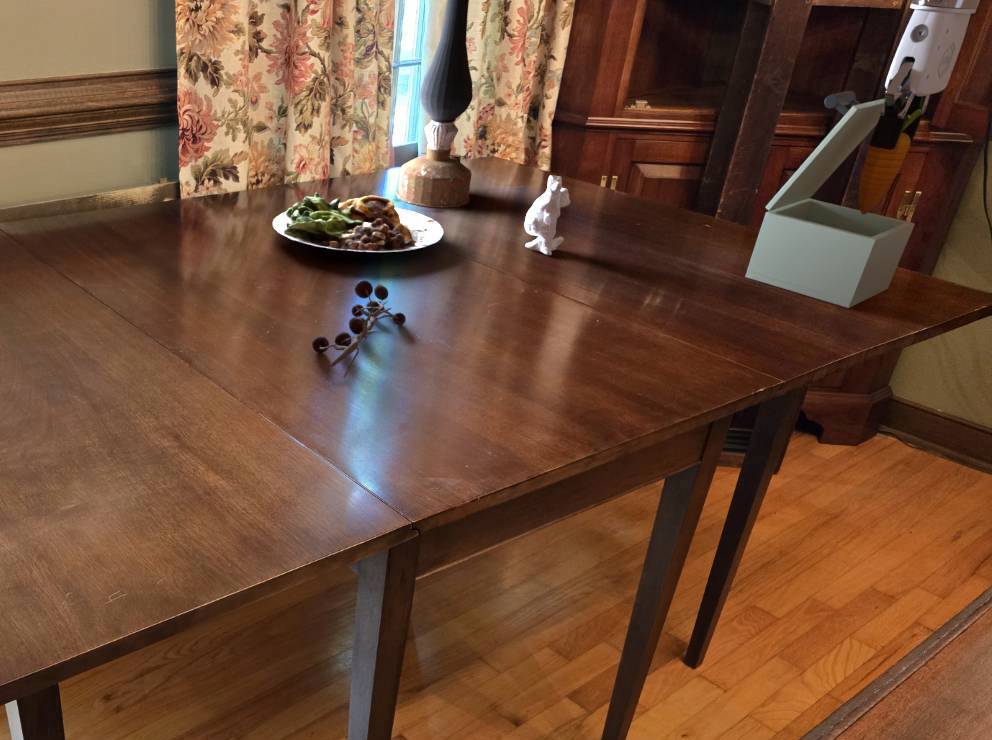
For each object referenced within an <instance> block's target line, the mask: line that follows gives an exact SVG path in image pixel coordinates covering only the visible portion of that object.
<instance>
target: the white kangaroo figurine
mask: <svg viewBox="0 0 992 740" xmlns="http://www.w3.org/2000/svg"><path fill="white" fill-rule="evenodd" d="M562 180H563V179H562V176H557V175H553V174H550V175H549V176H548V179H547V188H546V191H545V192H544V193H543V194H542V195H541V196H539V197H538V198H537V199H536V200H535V201H534V202H533V204H532V206H531V207H530V208H529V209H528V211H527V213H526V216H525V221H524V229H525V232H526V233H527V234H529V235H531V236H535V237H536V236H537V237H536V239H534V240H532V241H529V242H526V243H525V248H527V249H530V250H534V251H538V252H540V253H543V254H544V255H546V256H552V254H553V253H552V251H556V250H557V249H558V247H559V246H560V245H561V244H562V243H563V242H565V238H564V237H563V236H558V237H555V236H556V233H557V229H556V228H557V222H558V218H560V216H561V208H566V207H569V206H570V204H571V199H570V193H569V188H565V187H563V181H562Z"/></svg>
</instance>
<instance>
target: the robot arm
mask: <svg viewBox="0 0 992 740" xmlns="http://www.w3.org/2000/svg"><path fill="white" fill-rule="evenodd" d="M980 1H981V0H911V3H910V6H909V9H913V10H914V11H913V13H912V15H911V16H910V19H909V22H908V24H907V26H906V28H905V31H904V33H903V35H902V37H901V39H900V42H899V45H898V46H897V49H896V52H895V54H894V57H893V59H892V62H891V65H890V68H889V71H888V73H887V76H886V79H885V84H884V87H885V89H886V90H885V93H884V99H885V102H884V103H885V104H884V106H883V108H882V111H881V114H880V118H879V120H878V123H877V124H876V126H875V129H874V132H873V134H872V137H871V140H870V142H869V146H870V145H871V146H873V147H878V148H883V149H888V150H892V149H894V148H895V147H896V145H897V142H898V139H899V137H900V134H901V132H902V133H905V134H907V135H908V136H909V138H910V145H911V144H912V143H913V141H914V139H915V136H916V134H917V131H918V128H919V126H920V123H921V120H922V118H923V116H924V113H925V112H926V109H927V106H928V103H929V100H930V99H931V98H932V95H933V94H937V93H940V92H942V91H943V90H945V89H946V88H947V86H948V84H949V81H950V79H951V75H952V73H953V71H954V68H955V65H956V62H957V59H958V57H959V53H960V51H961V48H962V45H963V43H964V40H965V36H966V33H967V30H968V25H969V22H970V18H971V15H972V14H976V11H977V8H978V7H979V5H980V3H981V2H980ZM902 90H905V91H902ZM918 109H919V110H921V111H922V114H921V115H919V116H918V117H917V118H916V119H915V120H914V121H913V122H912V123H911V124H909V125H908V126H907V127H906V128H905V129H904V130H903V131H902V129H903V126H904V124H905V121H906V119H903V118H905V117H906V116H908V115H911V114H913V113H914V112H915V111H916V110H918Z"/></svg>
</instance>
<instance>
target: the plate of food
mask: <svg viewBox="0 0 992 740" xmlns="http://www.w3.org/2000/svg"><path fill="white" fill-rule="evenodd" d="M340 201H341V198H340V197H338V198H336V199H332V201H330V202H328V201H326V199H325V198H323V197H321V196H320V194H319V193H318V192H315V193H314V196H304V198H303V200H302V202H301V201H299V202H295V203H293V205H292V207H289V208H288V209H287V210H285V211H283V212H281V213H280V214H279V215H277V216H276V217H275V218H273V221H272V227H273V229H274V230H275V231H276V232H277V233H278V234H280V235H282V236H284V237H286V238H287V239H290V240H292V241H294V242H298V243H302V244H306V245H311V246H314V247H317V248H326V249H327V250H329V251H331V250H332V251H351V252H352V251H353V252H363V253H364V252H366V253H393V252H405V251H411V250H419V249H421V248H426V247H427V246H431V245H433V244H436V243H438V242H439V241H440V240H441V239H442V236H443V235H444V229H443V226H441V224H440V223H438V221H436V220H434V219H433V218H432V217H431V218H430V217H428V216H426V215H425V214H421V213H418V212H416V211H412V210H408V209H404V208H399V207H395V203H393V201H391V200H390V199H388V198H386V197H382V196H378V195H372V194H369V195H367V196H362V197H359V198H358V197H356V198H350V199H347V200H346V201H344V202H340Z"/></svg>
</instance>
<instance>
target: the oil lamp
mask: <svg viewBox="0 0 992 740" xmlns="http://www.w3.org/2000/svg"><path fill="white" fill-rule="evenodd" d="M469 4H470V0H446V7H445V13H444V19H443V24H442V29H441V33H440V37H439V41H438V44H437V46H436V49H435V52H434V54H433V57H432V60H431V62H430V65H429V67H428V68H427V71H426V72H425V75H424V77H423V80H422V82H421V86H420V89H419V95H418V96H419V101H420V105H421V106H422V107H421V108H423V110H424V112H425V113H426V114H427V115H428V117H429V119H430V122H429V123H428V124H427V125H425V127H424V131H425V135H426V139H427V142H428V143H427V146H426V152H422V151H421V152H420V154H421V155H420V156H417V157H415V158H413V159H411V160H409V161H408V162H407V161H406V162H405V163H404V164H403V165H401V167H400V174H399V184H398V190H397V191H396V197H397V198H398V199H399V200H401V201H403V202H405V203H408V204H411V205H415V206H420V207H427V208H437V209H438V208H439V209H440V208H441V209H443V208H446V209H447V208H457V207H461V206H464V205H467V204H468V203H469V201H470V196H469V194H470V187H471V183H472V182H471V181H472V171H471V169H470V168H468V166H466V165H464V164H463V163H462V162H461V161H462V158H463V159H465V162H468V160H469V159H468V157H469V152H466V154H465V155H461V154H459V153H451V151H452V144H453V142H454V140H455V138H456V136H457V134H458V132H459V128H458V127H457V126H456V124H455V122H456V121H457V119H458V118H459V117H461V116H462V115H463V114H464V113H465V112H466V111H467V110H468V108H469V107H470V105H471V103H472V101H473V97H474V95H473V94H474V92H473V89H474V88H473V78H472V75H471V70H470V63H469V55H468V47H467V35H468V34H467V32H468V16H469Z"/></svg>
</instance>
